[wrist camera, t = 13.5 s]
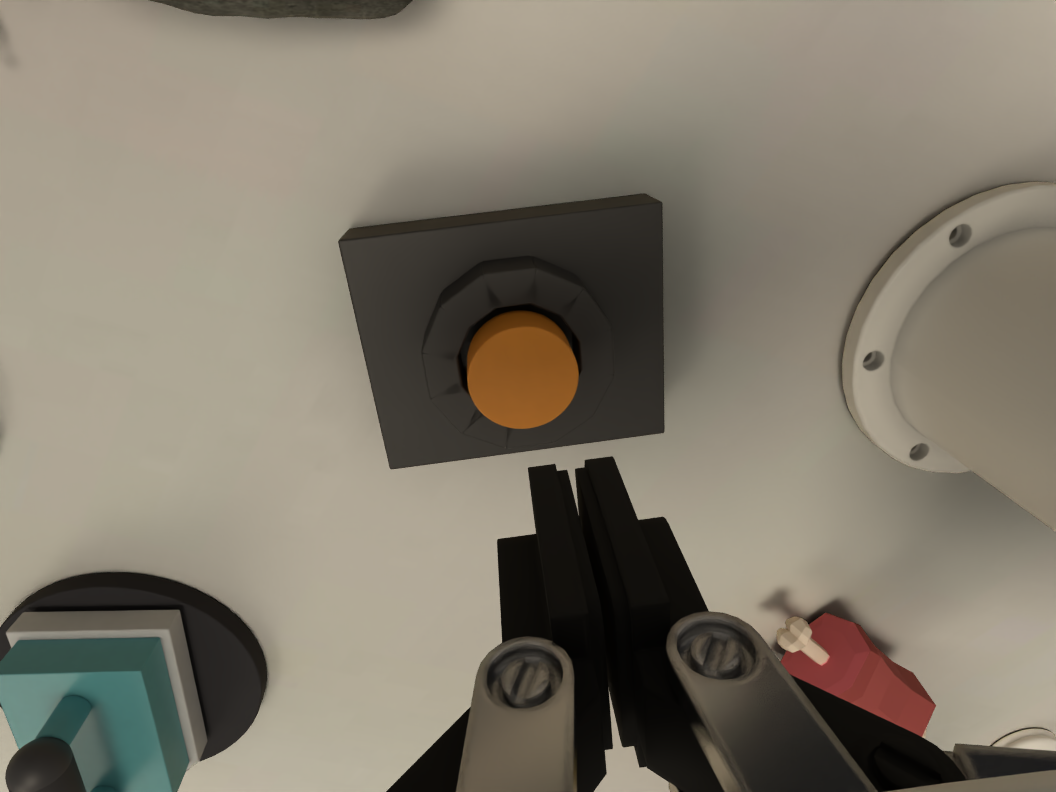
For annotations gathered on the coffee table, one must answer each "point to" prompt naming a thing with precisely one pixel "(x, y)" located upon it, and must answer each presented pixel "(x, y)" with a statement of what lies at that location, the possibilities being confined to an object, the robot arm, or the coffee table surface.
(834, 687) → the meat
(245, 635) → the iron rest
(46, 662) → the iron
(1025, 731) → the chess piece
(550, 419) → the button
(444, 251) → the switch block
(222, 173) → the coffee table surface
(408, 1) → the stone
